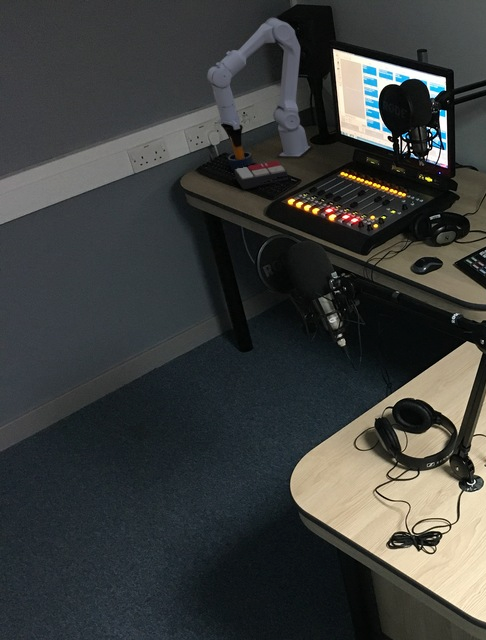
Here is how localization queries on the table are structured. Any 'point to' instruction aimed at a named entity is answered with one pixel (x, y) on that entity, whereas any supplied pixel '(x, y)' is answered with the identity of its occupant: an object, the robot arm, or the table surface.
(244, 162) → the dark blue round bowl
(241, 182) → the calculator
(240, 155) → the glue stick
